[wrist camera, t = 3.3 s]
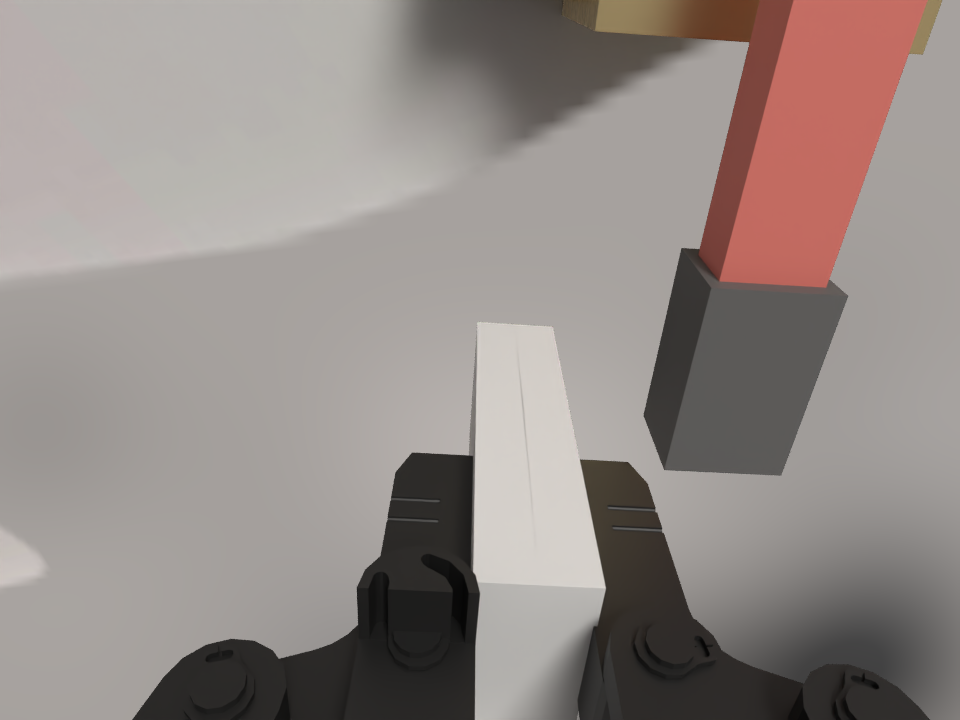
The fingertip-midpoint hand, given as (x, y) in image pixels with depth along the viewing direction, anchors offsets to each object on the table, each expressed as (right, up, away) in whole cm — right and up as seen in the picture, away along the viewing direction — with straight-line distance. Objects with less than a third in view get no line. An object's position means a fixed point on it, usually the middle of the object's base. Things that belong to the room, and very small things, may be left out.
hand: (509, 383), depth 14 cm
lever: (+6, +5, +1) cm, 8 cm away
